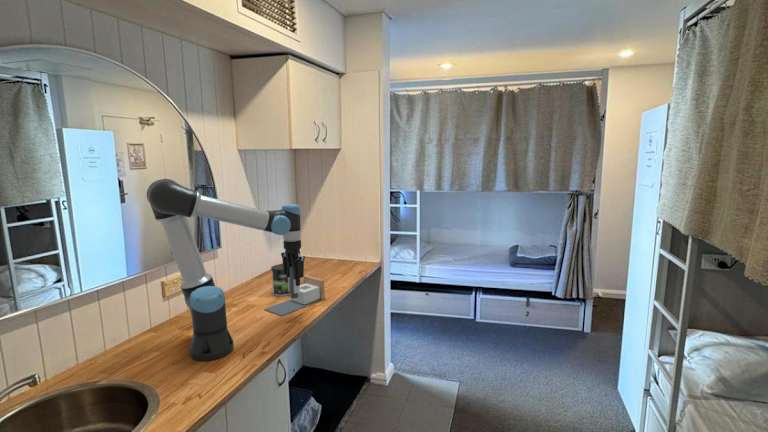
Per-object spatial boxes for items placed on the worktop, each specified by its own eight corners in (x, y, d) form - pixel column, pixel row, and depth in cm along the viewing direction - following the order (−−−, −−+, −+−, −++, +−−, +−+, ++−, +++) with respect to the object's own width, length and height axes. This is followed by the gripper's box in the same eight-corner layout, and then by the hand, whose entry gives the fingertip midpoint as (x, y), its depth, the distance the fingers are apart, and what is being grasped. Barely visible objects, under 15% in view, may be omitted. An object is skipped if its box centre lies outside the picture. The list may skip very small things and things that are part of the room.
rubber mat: (281, 316, 184) (281, 315, 184) (264, 309, 192) (264, 309, 192) (324, 299, 204) (324, 298, 204) (307, 293, 212) (307, 293, 212)
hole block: (304, 304, 195) (303, 292, 194) (291, 300, 202) (290, 288, 201) (320, 298, 203) (319, 286, 202) (306, 294, 209) (306, 283, 208)
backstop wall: (321, 300, 203) (320, 280, 201) (304, 294, 211) (303, 276, 209) (324, 299, 204) (323, 279, 203) (307, 293, 212) (306, 275, 211)
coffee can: (296, 292, 214) (295, 266, 212) (278, 297, 208) (276, 270, 205) (287, 288, 222) (285, 262, 220) (269, 292, 215) (267, 266, 213)
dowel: (293, 298, 180) (292, 267, 178) (289, 297, 182) (288, 266, 180) (299, 296, 183) (298, 266, 181) (294, 295, 185) (293, 265, 183)
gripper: (311, 240, 176) (312, 293, 180) (287, 236, 186) (289, 285, 190) (297, 243, 171) (299, 297, 174) (273, 238, 181) (275, 290, 184)
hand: (294, 291), depth 182 cm, fingers closed on dowel, 3 cm apart
